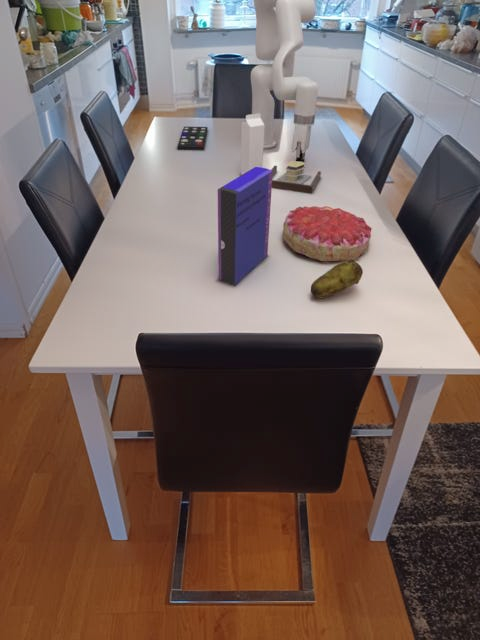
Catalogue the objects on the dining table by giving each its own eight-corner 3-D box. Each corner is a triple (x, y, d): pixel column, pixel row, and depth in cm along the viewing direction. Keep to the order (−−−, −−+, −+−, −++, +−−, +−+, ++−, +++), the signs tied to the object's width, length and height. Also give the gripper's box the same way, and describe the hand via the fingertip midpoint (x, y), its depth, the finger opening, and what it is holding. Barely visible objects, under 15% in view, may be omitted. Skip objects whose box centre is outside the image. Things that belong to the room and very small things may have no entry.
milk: (262, 177, 174) (265, 115, 161) (248, 180, 172) (250, 117, 158) (253, 172, 178) (256, 111, 165) (240, 174, 176) (241, 112, 163)
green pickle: (304, 284, 116) (307, 256, 111) (353, 282, 117) (359, 254, 112) (311, 303, 110) (315, 274, 105) (364, 301, 111) (370, 272, 106)
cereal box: (252, 251, 129) (255, 165, 114) (267, 256, 127) (272, 169, 112) (218, 280, 117) (217, 188, 102) (234, 285, 115) (236, 193, 100)
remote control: (177, 149, 198) (177, 145, 197) (184, 129, 222) (184, 125, 221) (203, 150, 198) (203, 145, 197) (207, 130, 222) (207, 125, 221)
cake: (262, 238, 132) (266, 213, 127) (313, 216, 148) (318, 192, 143) (334, 276, 120) (341, 249, 115) (381, 246, 136) (389, 222, 131)
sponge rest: (274, 171, 179) (274, 165, 178) (320, 178, 175) (321, 171, 173) (262, 186, 167) (263, 179, 166) (311, 193, 163) (312, 186, 161)
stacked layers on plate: (299, 185, 169) (301, 170, 165) (277, 180, 172) (278, 165, 169) (310, 176, 176) (311, 162, 172) (288, 172, 179) (289, 157, 176)
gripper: (298, 113, 175) (294, 161, 186) (289, 123, 164) (285, 174, 175) (318, 115, 173) (312, 164, 184) (310, 125, 162) (304, 176, 173)
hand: (299, 168), depth 179 cm, fingers closed
